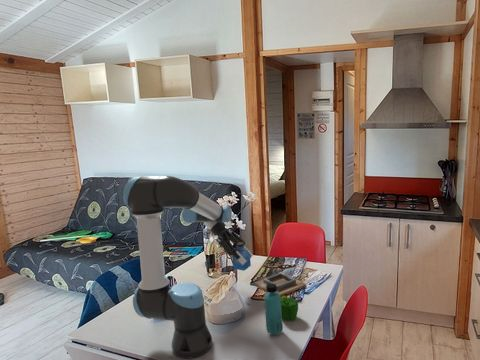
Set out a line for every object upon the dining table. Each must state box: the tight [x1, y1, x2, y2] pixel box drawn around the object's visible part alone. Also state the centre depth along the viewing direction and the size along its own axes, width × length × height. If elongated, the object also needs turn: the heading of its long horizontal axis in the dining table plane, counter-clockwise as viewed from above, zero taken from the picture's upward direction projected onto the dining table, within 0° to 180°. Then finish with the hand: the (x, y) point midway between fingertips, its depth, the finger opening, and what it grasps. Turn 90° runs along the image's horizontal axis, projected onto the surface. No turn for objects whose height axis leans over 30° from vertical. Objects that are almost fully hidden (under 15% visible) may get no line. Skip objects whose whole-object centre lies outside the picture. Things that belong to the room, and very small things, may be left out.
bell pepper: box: [280, 295, 299, 322], centre depth 151 cm, size 8×8×10 cm
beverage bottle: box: [263, 283, 284, 335], centre depth 141 cm, size 6×7×20 cm
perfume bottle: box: [231, 242, 252, 271], centre depth 175 cm, size 6×6×12 cm
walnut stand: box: [253, 271, 307, 296], centre depth 180 cm, size 18×18×4 cm
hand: (248, 260), depth 174 cm, fingers closed on perfume bottle, 7 cm apart
